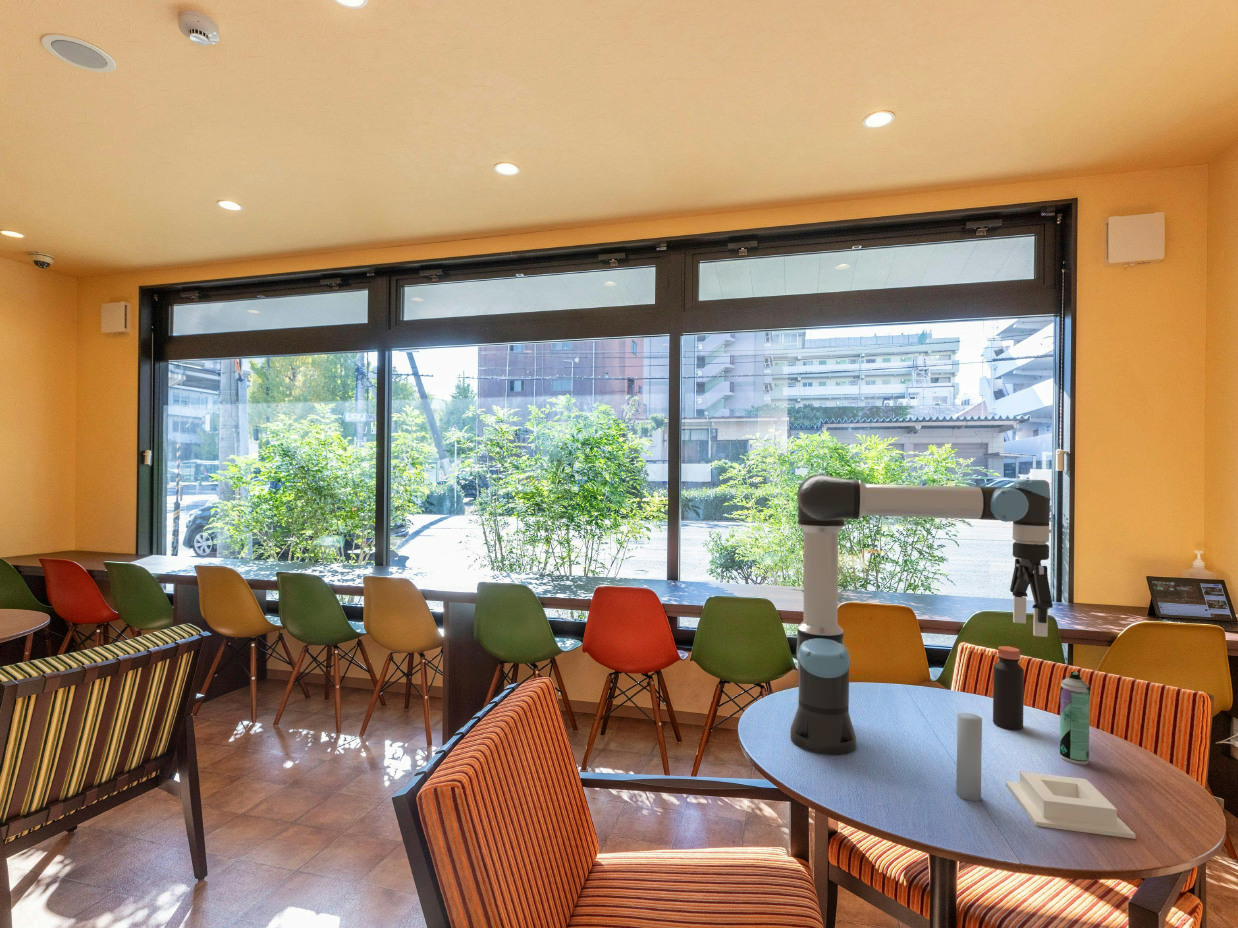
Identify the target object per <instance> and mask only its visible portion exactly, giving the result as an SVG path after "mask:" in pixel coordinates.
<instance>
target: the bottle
mask: <svg viewBox="0 0 1238 928" xmlns="http://www.w3.org/2000/svg"><path fill="white" fill-rule="evenodd" d="M997 657H998V661H997V662H996V663H995V664H994V665H993V678H992V679H993V685H992V687H993V688H992V690H993V691H992V696H993V697H992V722H993V724H994V725H996V726H998V727H999V728H1002V729H1006V730H1010V731H1011V730H1012V731H1019V730H1022V729H1023V727H1024V701H1025V700H1024V699H1025V698H1024V695H1025V694H1024V690H1025V670H1024V669H1023V667H1022V666H1021V665H1020V664H1019V661H1020V658H1021V650H1020V648H1016V647H1013V646H1008V645H1005V646H1004V645H1001V646H998V647H997Z"/></svg>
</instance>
